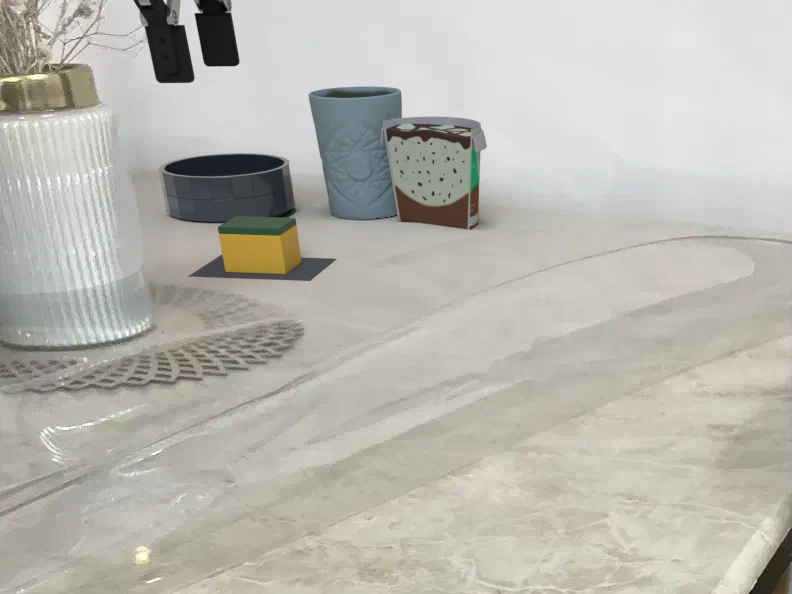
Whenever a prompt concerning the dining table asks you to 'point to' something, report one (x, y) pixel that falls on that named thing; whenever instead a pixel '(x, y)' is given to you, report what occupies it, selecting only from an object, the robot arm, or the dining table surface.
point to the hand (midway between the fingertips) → (200, 73)
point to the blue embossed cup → (356, 148)
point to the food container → (435, 169)
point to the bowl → (227, 186)
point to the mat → (299, 273)
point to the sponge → (260, 244)
